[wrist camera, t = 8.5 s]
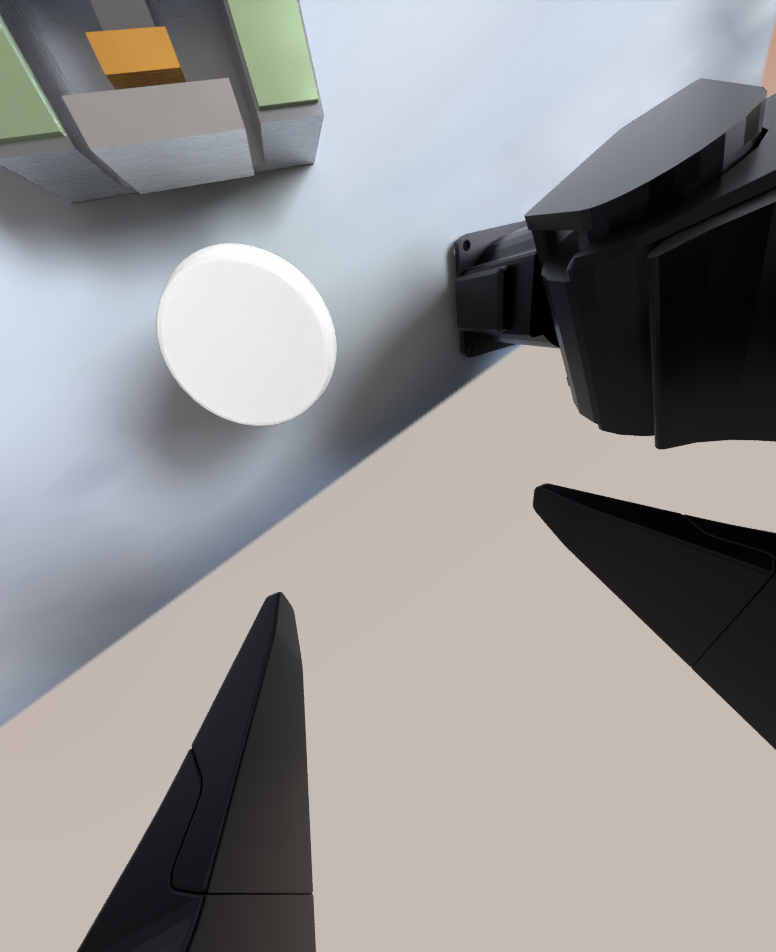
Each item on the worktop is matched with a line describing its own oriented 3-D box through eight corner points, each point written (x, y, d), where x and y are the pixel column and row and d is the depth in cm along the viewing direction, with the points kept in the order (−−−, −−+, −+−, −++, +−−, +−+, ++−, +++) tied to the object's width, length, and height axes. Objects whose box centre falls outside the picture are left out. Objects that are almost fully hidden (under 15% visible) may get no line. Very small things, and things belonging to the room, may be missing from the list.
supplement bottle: (303, 398, 17) (323, 468, 9) (201, 366, 15) (105, 422, 7) (329, 304, 15) (381, 288, 7) (216, 250, 13) (108, 135, 5)
